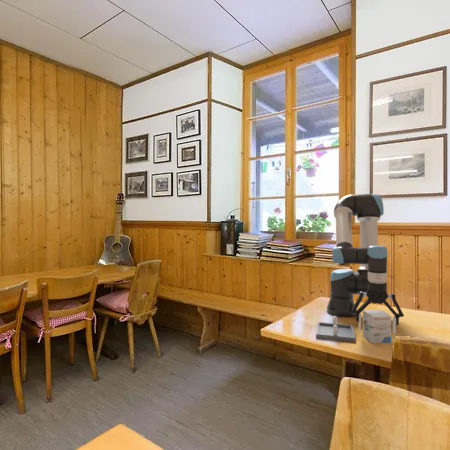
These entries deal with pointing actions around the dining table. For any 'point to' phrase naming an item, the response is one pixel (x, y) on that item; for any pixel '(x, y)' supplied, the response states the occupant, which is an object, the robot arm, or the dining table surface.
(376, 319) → the ink box
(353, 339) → the tray
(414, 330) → the dining table surface
